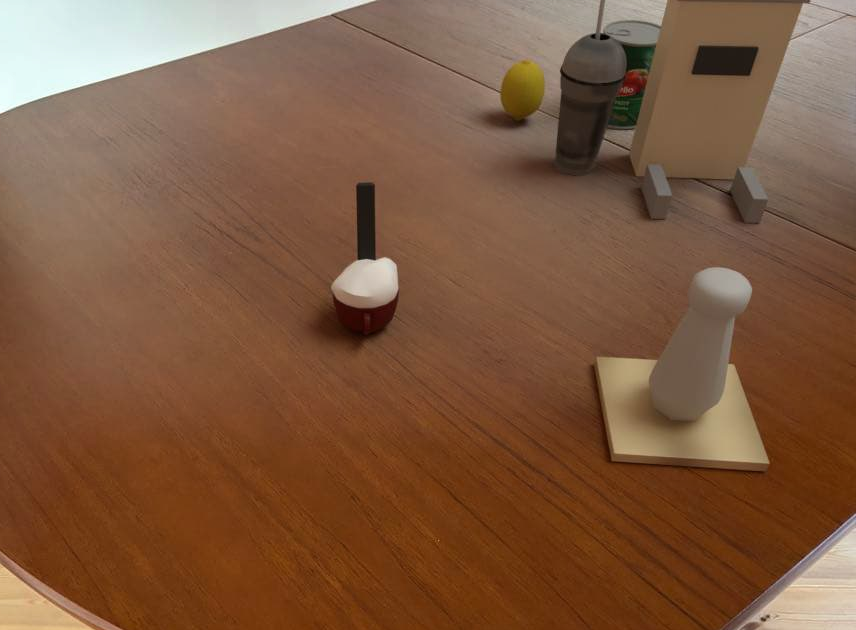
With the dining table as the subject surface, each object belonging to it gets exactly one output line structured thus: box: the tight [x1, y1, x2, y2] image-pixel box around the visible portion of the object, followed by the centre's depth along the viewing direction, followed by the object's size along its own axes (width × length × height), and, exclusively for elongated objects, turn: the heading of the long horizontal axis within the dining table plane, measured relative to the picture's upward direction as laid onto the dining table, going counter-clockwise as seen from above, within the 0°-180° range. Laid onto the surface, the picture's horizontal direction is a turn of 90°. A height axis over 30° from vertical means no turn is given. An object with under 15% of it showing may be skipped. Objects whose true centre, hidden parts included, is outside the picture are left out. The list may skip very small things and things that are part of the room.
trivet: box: [593, 356, 771, 472], centre depth 73 cm, size 12×12×1 cm
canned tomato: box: [602, 19, 661, 130], centre depth 110 cm, size 8×8×11 cm
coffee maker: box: [628, 0, 811, 224], centre depth 92 cm, size 13×15×23 cm
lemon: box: [499, 58, 546, 121], centre depth 111 cm, size 6×6×8 cm
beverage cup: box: [554, 0, 626, 176], centre depth 97 cm, size 7×7×20 cm
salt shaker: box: [649, 266, 753, 421], centre depth 68 cm, size 6×6×13 cm
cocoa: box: [330, 181, 400, 335], centre depth 79 cm, size 10×6×12 cm, turn 156°
